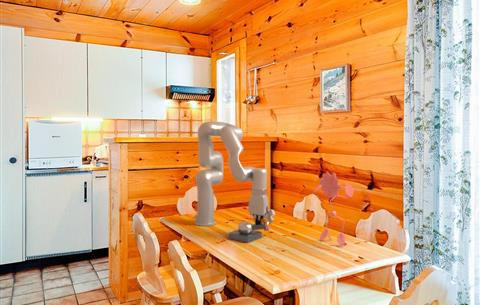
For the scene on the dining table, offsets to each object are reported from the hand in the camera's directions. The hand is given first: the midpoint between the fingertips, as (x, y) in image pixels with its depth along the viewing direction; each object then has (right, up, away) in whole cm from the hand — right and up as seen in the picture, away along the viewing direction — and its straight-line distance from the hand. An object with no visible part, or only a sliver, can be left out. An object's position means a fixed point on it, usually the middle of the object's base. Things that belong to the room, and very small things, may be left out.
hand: (258, 227), depth 187 cm
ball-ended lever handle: (-2, -1, -4) cm, 5 cm away
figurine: (+33, -6, -14) cm, 36 cm away
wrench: (+5, -3, +37) cm, 38 cm away
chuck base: (-7, -5, -5) cm, 10 cm away
